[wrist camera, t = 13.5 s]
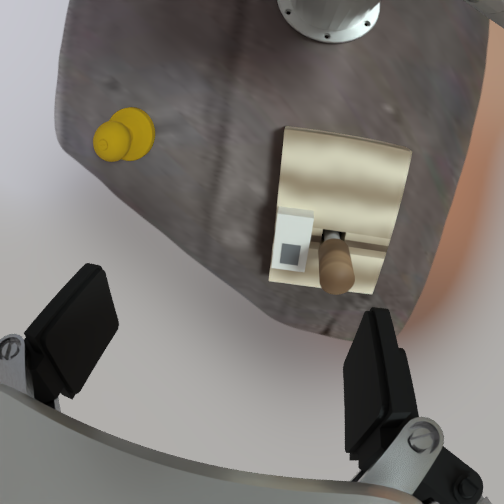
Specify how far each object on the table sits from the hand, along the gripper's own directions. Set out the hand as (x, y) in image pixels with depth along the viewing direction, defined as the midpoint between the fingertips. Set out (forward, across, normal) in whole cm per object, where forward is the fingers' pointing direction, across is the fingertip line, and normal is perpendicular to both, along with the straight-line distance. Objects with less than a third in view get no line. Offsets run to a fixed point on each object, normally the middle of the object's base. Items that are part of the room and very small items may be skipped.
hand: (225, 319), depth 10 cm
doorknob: (+33, +22, 0) cm, 39 cm away
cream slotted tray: (+32, -8, +9) cm, 34 cm away
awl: (+32, -8, +12) cm, 35 cm away
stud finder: (+29, -2, +12) cm, 32 cm away
